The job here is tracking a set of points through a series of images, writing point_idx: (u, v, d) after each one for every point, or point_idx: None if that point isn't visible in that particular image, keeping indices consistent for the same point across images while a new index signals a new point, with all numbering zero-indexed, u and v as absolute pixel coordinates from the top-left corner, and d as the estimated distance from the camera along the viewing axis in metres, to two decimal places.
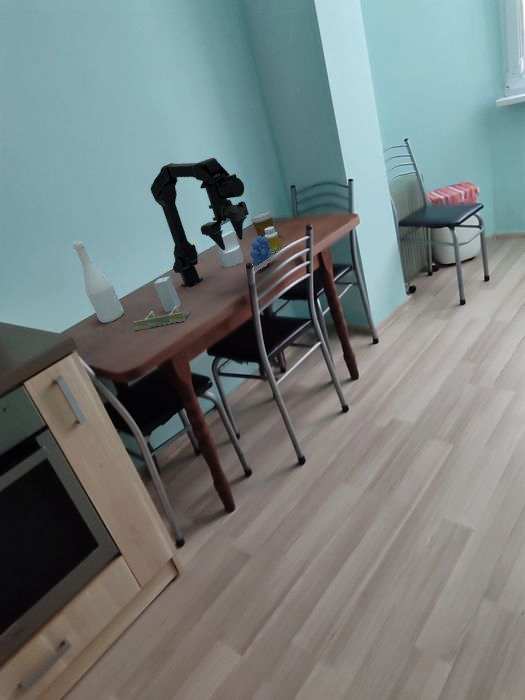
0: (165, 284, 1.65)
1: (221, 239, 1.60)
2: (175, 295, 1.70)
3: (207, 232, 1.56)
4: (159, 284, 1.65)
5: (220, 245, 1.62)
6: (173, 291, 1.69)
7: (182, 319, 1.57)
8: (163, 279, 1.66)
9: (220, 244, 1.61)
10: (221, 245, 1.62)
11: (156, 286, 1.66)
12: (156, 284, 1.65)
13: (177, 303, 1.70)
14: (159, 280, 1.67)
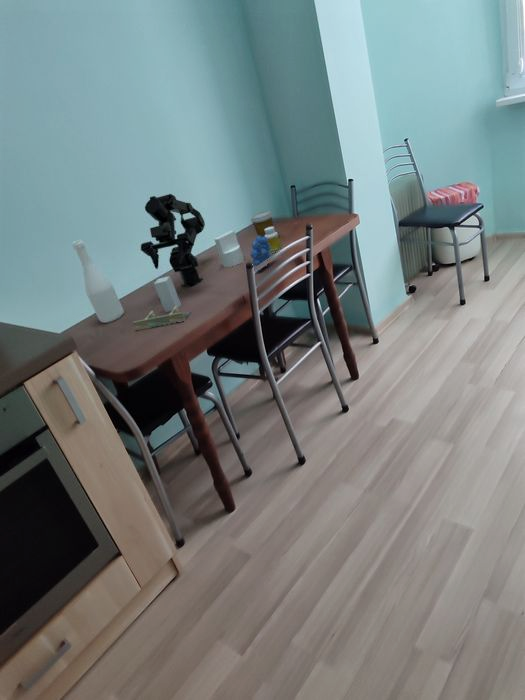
0: (165, 284, 1.65)
1: (152, 257, 1.74)
2: (175, 295, 1.70)
3: None
4: (159, 284, 1.65)
5: None
6: (173, 291, 1.69)
7: (182, 319, 1.57)
8: (163, 279, 1.66)
9: None
10: None
11: (156, 286, 1.66)
12: (156, 284, 1.65)
13: (177, 303, 1.70)
14: (159, 280, 1.67)
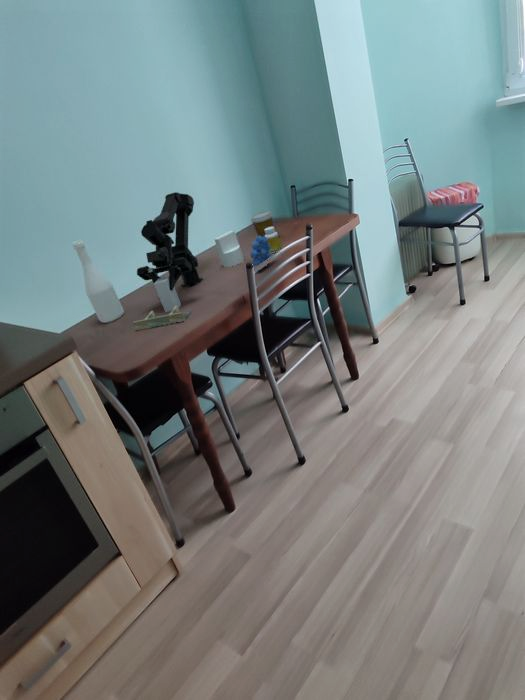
0: (165, 284, 1.65)
1: (154, 281, 1.68)
2: (175, 295, 1.70)
3: None
4: (159, 284, 1.65)
5: None
6: (173, 291, 1.68)
7: (182, 319, 1.57)
8: (163, 279, 1.66)
9: None
10: None
11: (156, 286, 1.66)
12: (156, 284, 1.65)
13: (177, 303, 1.70)
14: (159, 280, 1.67)
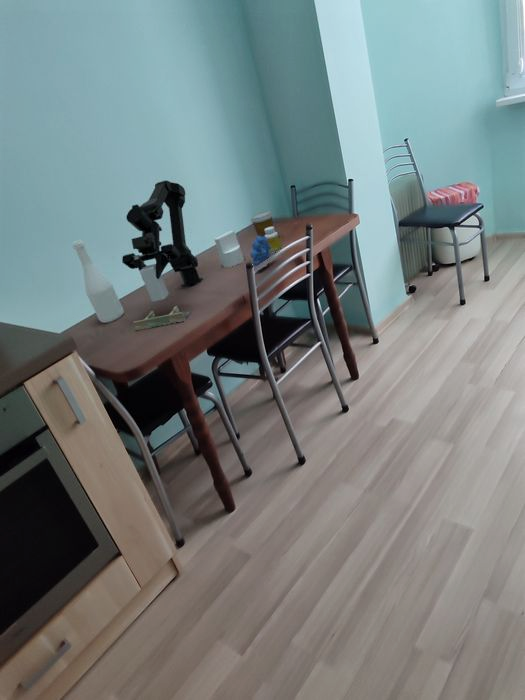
0: (151, 271, 1.57)
1: (140, 269, 1.60)
2: (162, 284, 1.61)
3: None
4: (145, 271, 1.57)
5: None
6: (160, 279, 1.60)
7: (182, 319, 1.57)
8: (149, 266, 1.58)
9: None
10: None
11: (142, 274, 1.58)
12: (142, 272, 1.57)
13: (165, 292, 1.62)
14: (145, 268, 1.59)
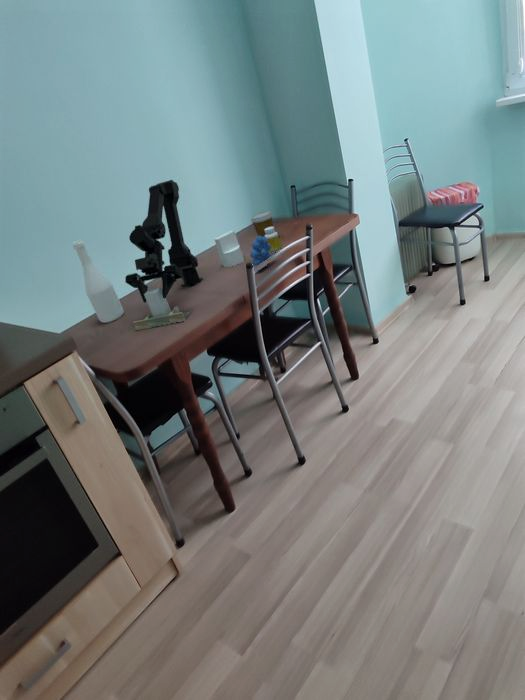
0: (156, 295, 1.57)
1: (140, 290, 1.60)
2: (166, 306, 1.62)
3: None
4: (149, 295, 1.57)
5: None
6: (164, 302, 1.61)
7: (182, 319, 1.57)
8: (154, 289, 1.59)
9: None
10: None
11: (146, 297, 1.58)
12: (146, 295, 1.58)
13: None
14: (150, 291, 1.59)
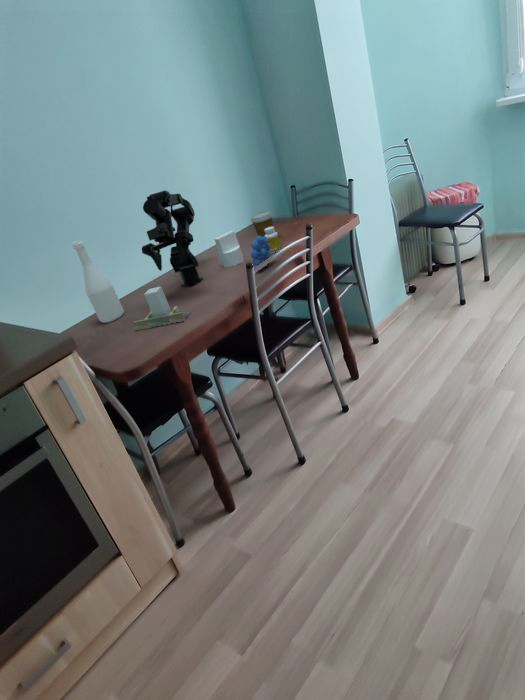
0: (156, 295, 1.57)
1: (154, 259, 1.72)
2: (166, 306, 1.62)
3: None
4: (149, 295, 1.57)
5: None
6: (164, 302, 1.61)
7: (182, 319, 1.57)
8: (154, 289, 1.59)
9: None
10: None
11: (146, 297, 1.58)
12: (146, 295, 1.58)
13: None
14: (150, 291, 1.59)
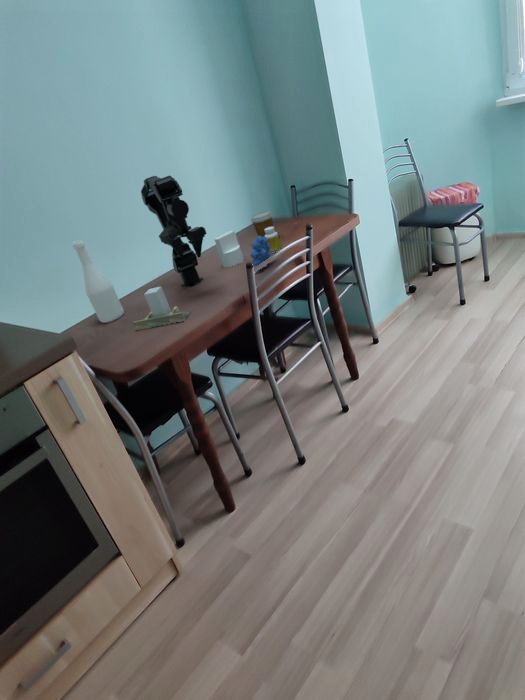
0: (156, 295, 1.57)
1: (174, 248, 1.74)
2: (166, 306, 1.62)
3: None
4: (149, 295, 1.57)
5: None
6: (164, 302, 1.61)
7: (182, 319, 1.57)
8: (154, 289, 1.59)
9: None
10: None
11: (146, 297, 1.58)
12: (146, 295, 1.58)
13: None
14: (150, 291, 1.59)
